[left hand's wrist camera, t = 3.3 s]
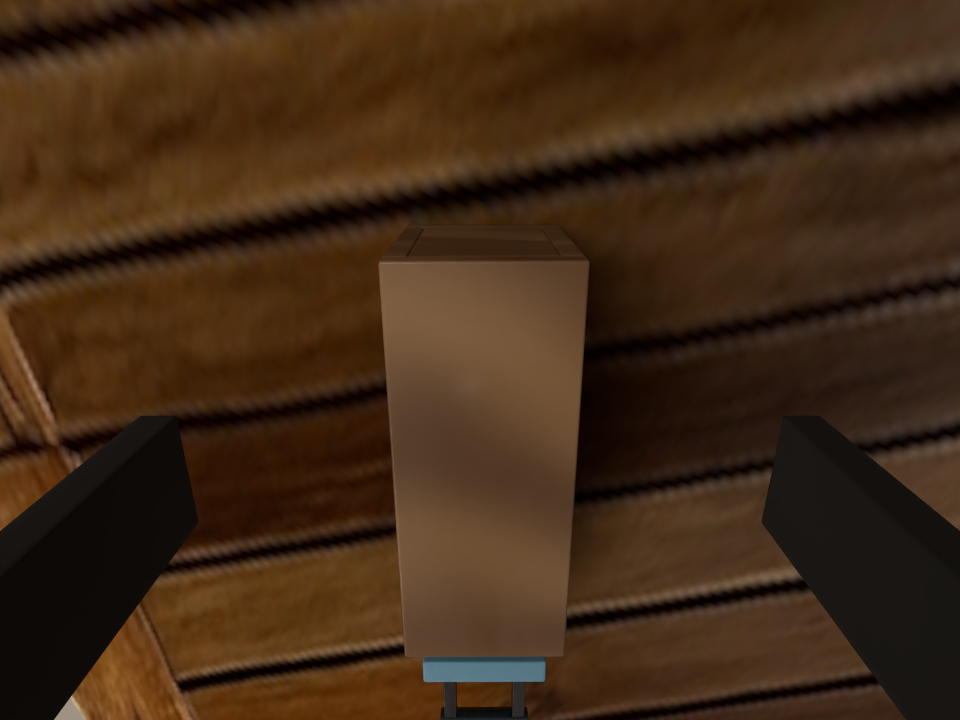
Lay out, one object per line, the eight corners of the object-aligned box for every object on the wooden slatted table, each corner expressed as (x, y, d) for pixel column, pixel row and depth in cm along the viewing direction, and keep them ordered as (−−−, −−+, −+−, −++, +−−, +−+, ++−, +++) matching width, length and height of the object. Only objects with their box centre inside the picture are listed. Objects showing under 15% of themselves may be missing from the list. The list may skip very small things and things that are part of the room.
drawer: (530, 655, 33) (541, 762, 27) (436, 655, 33) (427, 762, 27) (543, 309, 26) (561, 358, 20) (422, 309, 26) (406, 359, 20)
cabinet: (544, 534, 31) (564, 657, 24) (422, 534, 31) (404, 657, 24) (558, 224, 25) (590, 260, 18) (407, 224, 25) (377, 261, 18)
